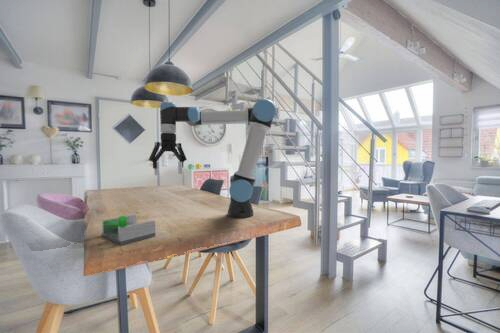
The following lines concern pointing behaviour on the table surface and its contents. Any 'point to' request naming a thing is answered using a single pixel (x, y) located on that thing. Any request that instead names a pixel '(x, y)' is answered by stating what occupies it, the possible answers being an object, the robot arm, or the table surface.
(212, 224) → the table surface
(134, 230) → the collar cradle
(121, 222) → the mechanical part
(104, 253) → the table surface
